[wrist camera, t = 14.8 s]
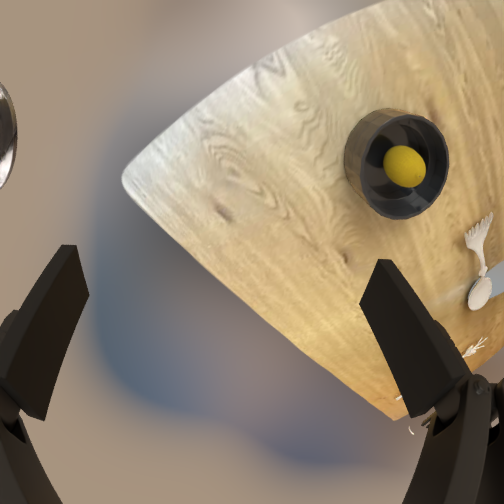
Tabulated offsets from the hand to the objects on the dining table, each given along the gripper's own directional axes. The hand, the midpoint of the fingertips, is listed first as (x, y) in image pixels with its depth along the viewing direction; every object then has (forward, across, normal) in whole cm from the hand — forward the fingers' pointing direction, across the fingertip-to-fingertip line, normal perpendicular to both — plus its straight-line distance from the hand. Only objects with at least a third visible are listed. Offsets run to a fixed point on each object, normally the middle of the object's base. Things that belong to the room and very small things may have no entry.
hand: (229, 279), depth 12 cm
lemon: (+28, +24, +1) cm, 37 cm away
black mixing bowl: (+28, +24, +1) cm, 37 cm away
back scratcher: (+28, +59, -18) cm, 68 cm away
